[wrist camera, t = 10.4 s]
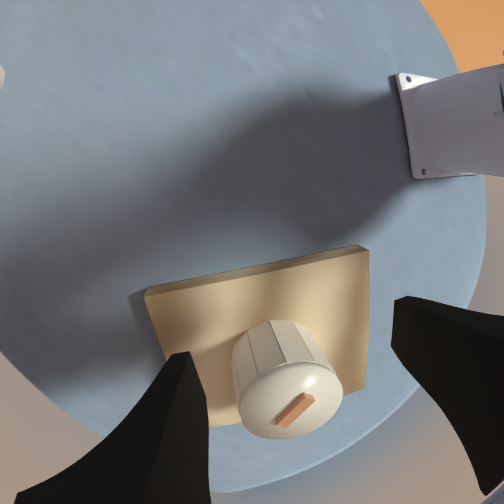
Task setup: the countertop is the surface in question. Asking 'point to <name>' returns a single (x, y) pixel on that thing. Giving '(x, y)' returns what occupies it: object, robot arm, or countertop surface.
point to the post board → (266, 317)
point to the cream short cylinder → (283, 381)
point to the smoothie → (1, 76)
